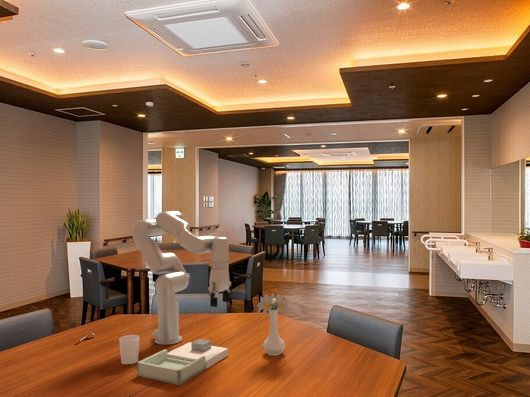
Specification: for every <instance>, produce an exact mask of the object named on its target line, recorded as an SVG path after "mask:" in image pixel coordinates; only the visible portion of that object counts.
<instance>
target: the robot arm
mask: <svg viewBox="0 0 530 397" xmlns="http://www.w3.org/2000/svg"><path fill="white" fill-rule="evenodd" d="M190 230H191V226H190V223H188V222H187V221H185V218H184V215H183V214H182V213H181V212H180V211H178V210H167V211H166V210H165V211H160V212H159V213H158V214H156V216H155V218H143V219H141V220H137V221H136V222H135V223H134V224H133V227H132V232H131V233H132V239H133V241H134V244H135V245H136V246H137V248H138V249H139V252H140V253H141V255H142V256H143V259H144V261H145V262H146V265H147V266H148V268H149V269H148V270H150V272H151V273H152V274H154V275H160V274H161V275H160V276H158V277H157V279H156V280H155V283H154V284H155V285H154V286H155V287H154V288H155V292H156V298H157V329H154V330H153V331H152V335H153V336H156V337H155V338H154V343H155V344H157V345H165V346H168V345H175V344H177V343H180V342H182V341H183V336H182V335H180V334H179V331H180V327H179V325H180V324H179V322H180V321H179V320H180V319H179V300H178V297H177V295H176V293H178V292H181V291H184V290H185V289H187V288H188V286H189V283H190V280H189V279H190V278H189V275H188V274H187V271H186V269H185V268H184V266H183V264H182V262H181V260H180V258H179V257H178V256H177V255H176V254H175V253H174V252H163V251H162V250H161V248H160V247H159V245H158V243H157V242H156V241H155V240H154V239H152V238H151V237H155V236H162V235H166V234H170V235H172V236H173V237H174V238H176V239H177V242H178V243H179V245H180V246H181V247H182V248H184V249H185V250H186V251H188V252H190V253H192V254H196V255H202V254H207V253H211V256H210V257H211V263H210V264H211V265H210V266H211V269H210V272H209V286H208V287H207V292H208V295H209V298H210V307H212V308H217V307H218V297H217V296H218V294H219V293H222V302H224V303H229V302H230V293H231V288H232V281H231V280H230V272H229V268H230V267H229V252H230V250H229V249H230V248H229V238H228V237H225V236H214V235H204V236H196V235H194V234H193V233H191V232H190Z"/></svg>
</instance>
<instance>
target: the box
mask: <svg viewBox="0 0 530 397" xmlns="http://www.w3.org/2000/svg"><path fill="white" fill-rule="evenodd" d="M167 353H168V349H163V350H160V351H158V352H156V353H154V354H152V355H149V356H148V357H145V358H143V359H141V360H138V362H137V363H136V365H137V366H136V375H137V377H140V376H141V377H142V378H145V377H146V378H145V379H149V378H150V380H155V381H159V382H164V383H167V384H172V385H175V386H177V385H178V386H181V385H182V384H184V383H186V382H188V381H189V380H190V379H192V378H194V377H196V376H197V375H199V374H200V373H202V372H204V371H205V370H207V369H206V356H202V357H200V358H199V359H197V360H195V361H193V362H191V361H186V360H181V359H176V358H170V357H167Z"/></svg>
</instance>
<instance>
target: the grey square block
mask: <svg viewBox="0 0 530 397" xmlns="http://www.w3.org/2000/svg"><path fill="white" fill-rule="evenodd" d="M211 346H212V340H210V339H204V338H199V339H196V340H194V341H192V343H191V349H192V350H194V351H200V352H204V351H206V350H208V349H210V348H211Z"/></svg>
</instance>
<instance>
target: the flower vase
mask: <svg viewBox="0 0 530 397" xmlns="http://www.w3.org/2000/svg"><path fill="white" fill-rule="evenodd" d="M259 301H260V302H259V303H257V308H258V310H257V315H258V314H259V313H260V312H261V311H262V310H263V311H262V315H265V314H267V311H268V313H269V320H270V321H269V334H268V335H267V338H265V340H264V341H263V344H262V346H263V349H264V351H266V354H267V355H268V356H273V357H274V356H280V355H282V352H283V350H284V349H285V347H286V345H285V342H284V341H285V340H283V339H282V338H281V337H280V335H279V331H278V312H284V314H286V315H287V314H288V310H287V309H288V303H287V300H285V299H284V296H282V295H280V293H279V294H277V295H276V297H275V294H274V293H272V294H271V295H270V296H269V295H268V294H267V293H266V294H264V296H263V297H262V296H260V300H259Z"/></svg>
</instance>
